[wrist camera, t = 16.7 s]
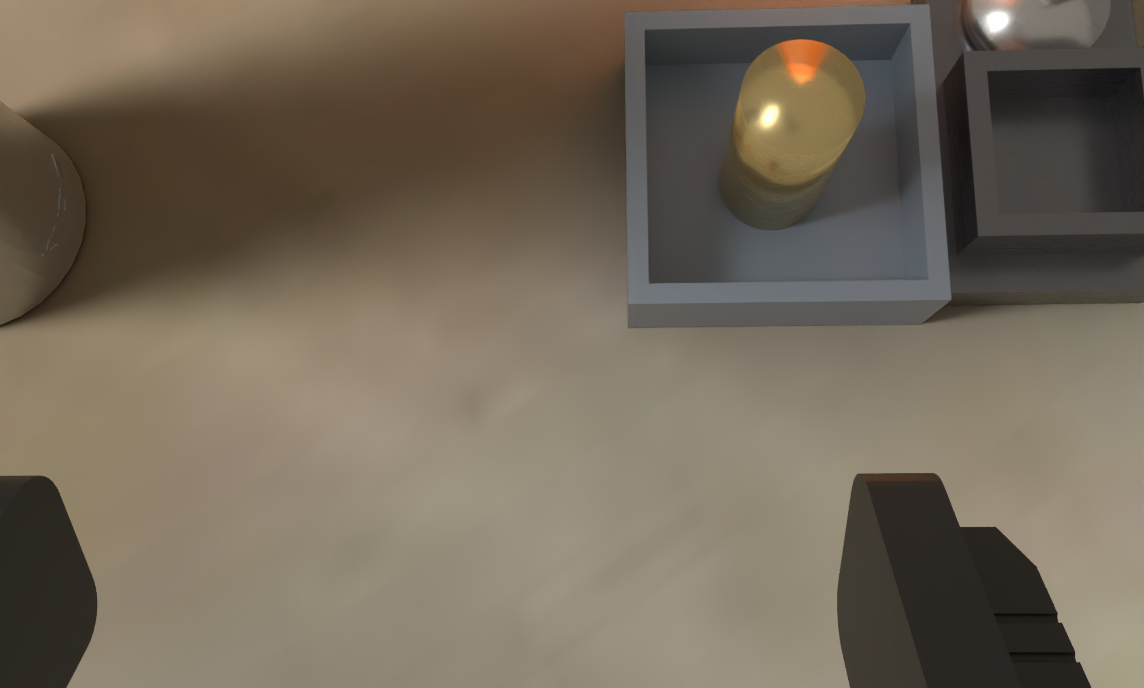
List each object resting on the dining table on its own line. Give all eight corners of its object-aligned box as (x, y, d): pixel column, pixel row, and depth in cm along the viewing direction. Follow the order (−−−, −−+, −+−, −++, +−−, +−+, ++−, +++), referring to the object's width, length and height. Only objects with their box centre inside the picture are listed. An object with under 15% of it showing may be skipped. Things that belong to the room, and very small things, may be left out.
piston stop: (720, 231, 42) (743, 156, 34) (717, 136, 43) (738, 41, 35) (823, 229, 42) (868, 153, 34) (817, 133, 43) (861, 37, 35)
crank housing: (932, 305, 42) (984, 262, 36) (909, -19, 45) (953, -109, 39) (1140, 302, 42) (1228, 258, 36) (1103, -24, 45) (1179, -116, 39)
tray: (628, 327, 43) (628, 303, 39) (624, 60, 45) (624, 11, 41) (920, 324, 42) (951, 299, 38) (902, 53, 44) (929, 4, 40)
